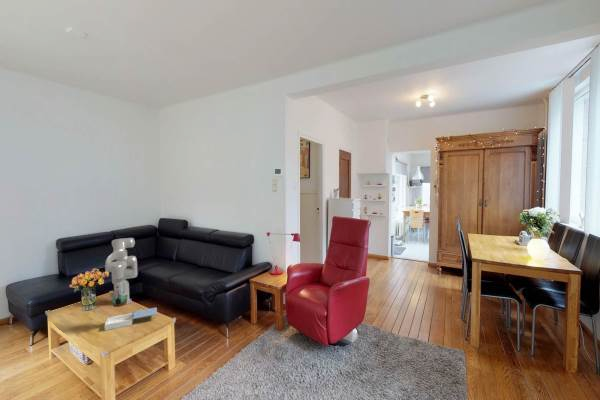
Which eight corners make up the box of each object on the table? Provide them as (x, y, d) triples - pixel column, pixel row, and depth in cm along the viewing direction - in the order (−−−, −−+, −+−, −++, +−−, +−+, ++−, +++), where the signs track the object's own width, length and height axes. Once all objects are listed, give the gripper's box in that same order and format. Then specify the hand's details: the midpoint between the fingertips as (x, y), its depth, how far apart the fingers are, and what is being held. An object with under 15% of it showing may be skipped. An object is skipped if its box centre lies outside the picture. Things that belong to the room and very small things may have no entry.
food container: (107, 308, 207) (107, 295, 206) (111, 304, 213) (110, 292, 212) (126, 306, 210) (125, 293, 210) (128, 303, 216) (128, 290, 216)
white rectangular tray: (107, 323, 215) (107, 317, 215) (133, 318, 223) (133, 312, 222) (104, 330, 204) (104, 325, 204) (132, 325, 212) (131, 319, 211)
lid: (132, 312, 222) (132, 309, 222) (156, 308, 230) (156, 305, 230) (131, 319, 211) (131, 316, 211) (156, 314, 219) (156, 311, 219)
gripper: (122, 282, 205) (123, 306, 206) (124, 275, 220) (125, 297, 221) (110, 284, 201) (111, 308, 203) (113, 277, 217) (114, 299, 218)
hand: (118, 302), depth 212 cm, fingers closed on food container, 5 cm apart
